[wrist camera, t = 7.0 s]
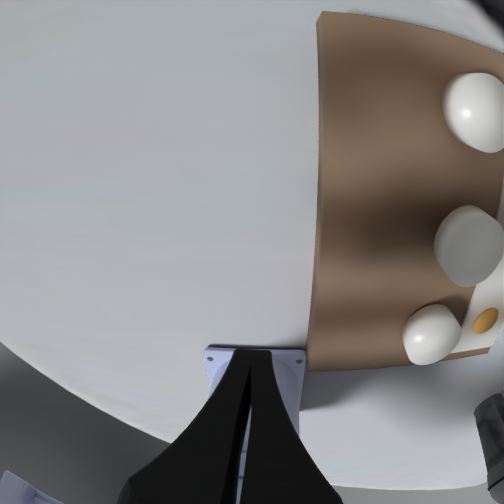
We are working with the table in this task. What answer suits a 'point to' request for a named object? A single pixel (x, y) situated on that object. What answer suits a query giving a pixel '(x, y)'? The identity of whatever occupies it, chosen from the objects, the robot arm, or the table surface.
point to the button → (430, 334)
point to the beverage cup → (492, 442)
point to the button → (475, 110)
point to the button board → (394, 192)
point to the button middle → (469, 245)
